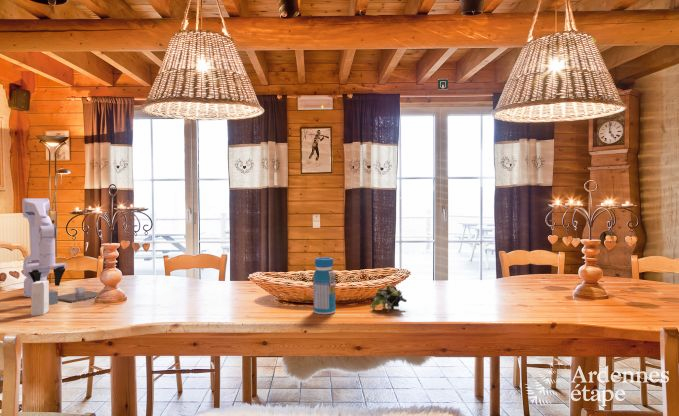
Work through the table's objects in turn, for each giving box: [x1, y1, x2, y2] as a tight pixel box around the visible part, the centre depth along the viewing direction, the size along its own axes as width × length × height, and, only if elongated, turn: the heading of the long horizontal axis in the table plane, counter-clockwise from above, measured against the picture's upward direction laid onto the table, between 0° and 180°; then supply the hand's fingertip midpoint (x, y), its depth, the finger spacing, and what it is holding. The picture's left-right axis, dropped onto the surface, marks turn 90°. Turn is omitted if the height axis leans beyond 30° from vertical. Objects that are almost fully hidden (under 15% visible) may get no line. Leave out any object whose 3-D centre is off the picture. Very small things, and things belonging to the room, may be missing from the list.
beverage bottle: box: [312, 256, 336, 315], centre depth 168 cm, size 8×8×20 cm
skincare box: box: [30, 279, 50, 317], centre depth 170 cm, size 6×4×12 cm
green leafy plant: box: [370, 284, 407, 314], centre depth 170 cm, size 11×11×12 cm
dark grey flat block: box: [58, 286, 100, 303], centre depth 201 cm, size 16×16×4 cm
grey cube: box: [49, 289, 59, 305], centre depth 188 cm, size 5×5×5 cm
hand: (47, 287), depth 188 cm, fingers open, 7 cm apart
